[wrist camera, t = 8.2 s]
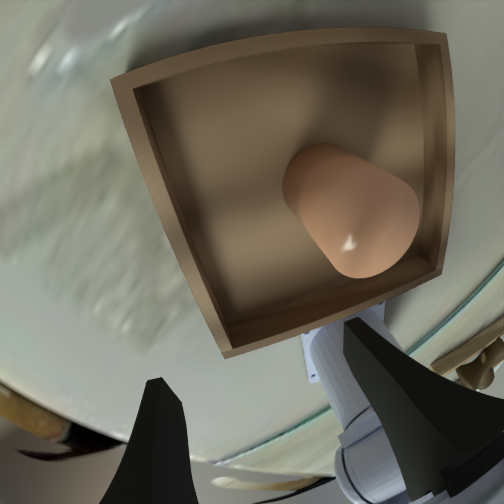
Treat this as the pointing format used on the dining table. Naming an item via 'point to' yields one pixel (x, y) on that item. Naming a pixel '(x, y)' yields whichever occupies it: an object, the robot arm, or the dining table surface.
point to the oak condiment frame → (469, 350)
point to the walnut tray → (278, 159)
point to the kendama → (482, 367)
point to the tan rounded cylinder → (351, 209)
